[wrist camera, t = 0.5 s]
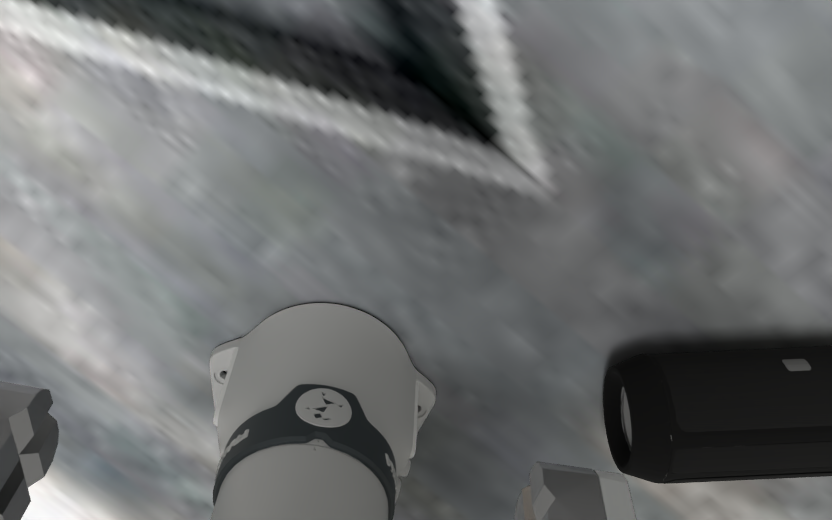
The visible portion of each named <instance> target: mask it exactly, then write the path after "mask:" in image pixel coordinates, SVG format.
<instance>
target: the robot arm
mask: <svg viewBox="0 0 832 520" xmlns="http://www.w3.org/2000/svg"><path fill="white" fill-rule="evenodd" d="M209 368H210V376H211V384H212V392H213V400H214V408H215V414H214V418H213V424H214V425H215V426H217V432H218V441H219V449H220V457H221V459H220V461H219V464H218V468H217V471H216V479H215V485H214V490H213V504H214V509H213V513H212V516H211V519H210V520H392V519H393V516H394V508H395V504H396V501H397V499H398V496H399V493H400V488H401V479H400V478H399V476H401V477H406V476H407V475H408V473H409V470H410V466H411V461H410V460H409V459H411V458H413V457H414V455H415V451H416V439H417V433H418V431H419V430H420V428H421V426H422V425H423V423H424V421H425V420H426V418H427V416H428V414H429V413H430V411H431V409H432V408H433V406H434V404H435V401H436V389H435V387H434V386H433V384H432V383H431V382H430V381H429V380H428V379H427V378H425V377H424V376H423V375H422V374H421V373H419V372H418V371H417V370H416V369H415V367H414V366H413V364H412V362H411V360H410V358H409V356H408V354H407V351H406V349H405V348H404V346H403V344H402V343H401V341H400V340H399V339H398V337H397V336H396V335H395V334H394V333H393V332H392V331H391V330H390V329H389V328H388V327H387V326H386V325H384V324H383V323H382V322H380V321H379V320H378V319H376V318H374V317H373V316H371V315H369V314H367V313H365V312H362V311H360V310H357V309H354V308H351V307H347V306H343V305H337V304H329V303H312V304H303V305H298V306H294V307H290V308H287V309H284V310H282V311H280V312H277V313H275V314H273V315H272V316H270V317H268V318H267V319H265V320H264V321H263V322H261V323H260V324H259V325H258V326H257V327H256V328H254V329H253V330H252V331H251V332H250V333H249V334H247V335H246V336H244V337H243V338H240V339H236V340H233V341H230V342H227V343H224V344H222V345H220V346H218V347H216V348H215V349H214V350H213V351H212V353H211V357H210V361H209ZM223 371H227V374H225V373H224V372H223ZM52 404H53V401H52V397H51V394H50V390H48V389H43V388H37V387H31V386H25V385H19V384H14V383H8V382H2V381H0V520H21V518H22V516H23V514H24V512H25V511H26V509H27V507H28V505H29V503H30V502H31V500H30V496H29V491H28V487H29V486H31V485H32V484H34V483H35V482H37V481H39V480H40V479H42V478H43V477H44V476H45V474H46V473H47V471H48V469H49V467H50V465H51V463H52V461H53V458H54V455H55V452H56V448H57V445H58V435H59V429H58V424H57V420H55V419H54V418H53V417H52V416H51V415H50V414H49V413H48V411H49V409H50V407H51V406H52ZM418 405H419V407H418ZM529 477H530V485H529V486H527V487H525V488H523V489H522V490H521V493H520V495H519V498H518V500H517V505H516V510H515V516H514V520H637V519H636V515H635V511H634V507H633V503H632V499H631V495H630V490H629V486H628V482H627V480H626V478H625V477H624V475H623V474H619V473H611V472H604V471H597V470H592V469H589V468H581V467H574V466H566V465H559V464H552V463H544V462H537V463H535V464H534V465H533V467H532V469H531V471H530V473H529Z"/></svg>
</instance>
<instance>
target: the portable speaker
mask: <svg viewBox="0 0 832 520" xmlns="http://www.w3.org/2000/svg"><path fill="white" fill-rule="evenodd" d="M603 407H604V419H605V427H606V434H607V439H608V443H609V447H610V451H611V454H612V457H613V459H614V462H615V464H616V466H617V467H618V469H619V470H620V471H621V472H623V473H625V474H628V475H631V476H634V477H638V478H641V479H644V480H647V481H651V482H654V483H664V484H666V483H688V482H710V481H732V480H754V479H776V478H798V477H820V476H832V346H821V347H799V348H778V349H757V350H735V351H714V352H693V353H671V354H650V355H646V354H640V355H638V356H635V357H633V358H631V359H628V360H626V361H624V362H621V363H619V364H617V365H614V366H612V367H611V368H609V370H608V371H607V374H606V377H605V383H604V392H603Z"/></svg>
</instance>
